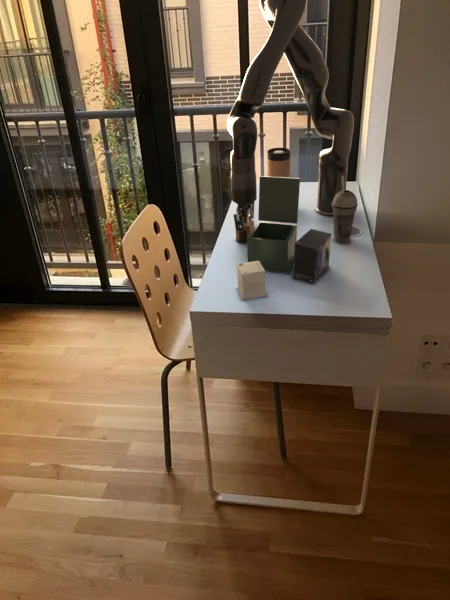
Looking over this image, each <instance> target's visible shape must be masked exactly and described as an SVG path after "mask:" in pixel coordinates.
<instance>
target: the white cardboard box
mask: <svg viewBox="0 0 450 600" xmlns="http://www.w3.org/2000/svg"><path fill="white" fill-rule="evenodd" d="M236 273H237V274H236V275H237V290H238V292H239V294H240V296H241V298H242V300H251V299H257V298H264V297H266V296H267V288H266V285H267V283H266V271H265V270H264V268H263V266H262V265H261V263H260V261H253V262H248V261H247V262H241V263H237V264H236Z"/></svg>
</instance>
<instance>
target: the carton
mask: <svg viewBox="0 0 450 600" xmlns="http://www.w3.org/2000/svg"><path fill="white" fill-rule="evenodd" d="M240 226H241V225H240ZM241 227H242V226H241ZM254 227H255V220H252V221H250V220H249V221H248V223H247V229H246V235H247V238H248V236H249V235H250V233H251V232H252V230H253V229H254ZM235 241H236V242H240V241H239V231H236V230H235ZM245 243H247V240H246V242H245Z"/></svg>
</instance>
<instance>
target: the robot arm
mask: <svg viewBox="0 0 450 600" xmlns="http://www.w3.org/2000/svg"><path fill="white" fill-rule="evenodd" d="M307 4H308V0H259V9H260V12H261V14H262V15H263V18H264V19H265V21H266V23H267V25H268V26H269V27H270V29H271V31H270V34H269V36H268V38H267V40H266V41H265V43H264V45H263V46H262V48H261V49H260V51H259V52H258V53H257V54H256V56H254V59H253V60H252V61H251V62H250V65H249V67H248V68H247V70H246V73H245V76H244V78H243V82H242V85H241V88H240V91H239V95H238V97H237V99H236V100H235V102H234V104H233V107H232V108H231V111H230V112H229V115H228V118H227V121H226V127H227V131H228V133H229V134H230V136H232V151H230V193H231V194H230V195H231V201H232V202H233V203H235V204H236V205H237V206H236V209H235V212H236V213H234V214H233V220H234V227H235V232H236V231H239V241H238V242H242V243H247V242H246V240H247V235H246V229H247V223H248V221H249V220H250V221H253V220H254V218H255V217H254V216H255V202H256V201H257V199H258V197H257V195H258V193H257V191H258V189H257V188H258V187H257V172H256V171H257V170H256V149H257V142H258V127H257V123H256V121H255V120H254V117H255V115H256V113H257V111H258V109H259V108H261V107H263V105H264V104H265V101H266V97H267V94H268V93H269V90H270V86H271V83H272V80H273V78H274V75H275V73H276V70H277V68H278V66H279V64H280V62H281V60H282V58H283V56H284V57H285V58H286V61H287V63H288V65H289V67H290V70H291V72H292V75H293V77H294V78H295V81H296V83H297V85H298V87H299V89H300V92H301V94H302V96H303V99H304V101H305V104H306V105H307V109H308V111H309V114H310V117H311V120H312V123H313V127H314V129H315V131H316V133H317V135H318V136H319V137H321V138H324V139H328V140H332V143H331V144H332V146H331V147H328V148H324V149H322V150H321V151H320V152H319V157H318V177H317V198H316V200H317V201H316V212H317V213H319V214H320V215H324V216H325V215H326V216H334V212H333V205H332V203H333V199H334V197H335V195H336V194H337V193H338V192H340V191H342V176H344V190H347V181H348V167H349V157H350V154H351V150H352V144H353V143H352V142H353V136H354V135H353V134H354V130H355V129H354V128H355V117H354V114H353V112H352V111H350V110H348V109H343V108H336V107H332V106H331V105H330V103H329V102H328V99H327V97H326V90H327V87H328V84H329V78H330V73H329V68H328V65H327V62H326V60H325V58H324V55H323V52H322V51H321V49H320V47H319V46H318V45H317V44H316V43H315V42H314V40H313V39H312V38H311V37H310V35H309V34H308V33H307V32H306V31H305V30H304V28H303V26H301V24H300V23H301V21H302V19H303V16H304V14H305V11H306V8H307ZM240 225H241V226H242V227H241V226H240Z"/></svg>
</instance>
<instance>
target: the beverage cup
mask: <svg viewBox="0 0 450 600" xmlns="http://www.w3.org/2000/svg"><path fill="white" fill-rule="evenodd" d="M358 204H359V203H358V198H357V196H356V194H355V193H354V192H353V191H351V190H348V189H346V190H344V176H342V191H340V192H338V193H337V194H336V195H335V197H334V199H333V203H332V205H333V212H334V215H333V239H334V242H335V243H337V244H340V245H341V244H342V245H344V244H348V243H349V242H350V241H351V237H352V231H353V227H354V222H355V221H354V220H355V216H356V215H355V214H356V211H357V208H358V206H359V205H358Z"/></svg>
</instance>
